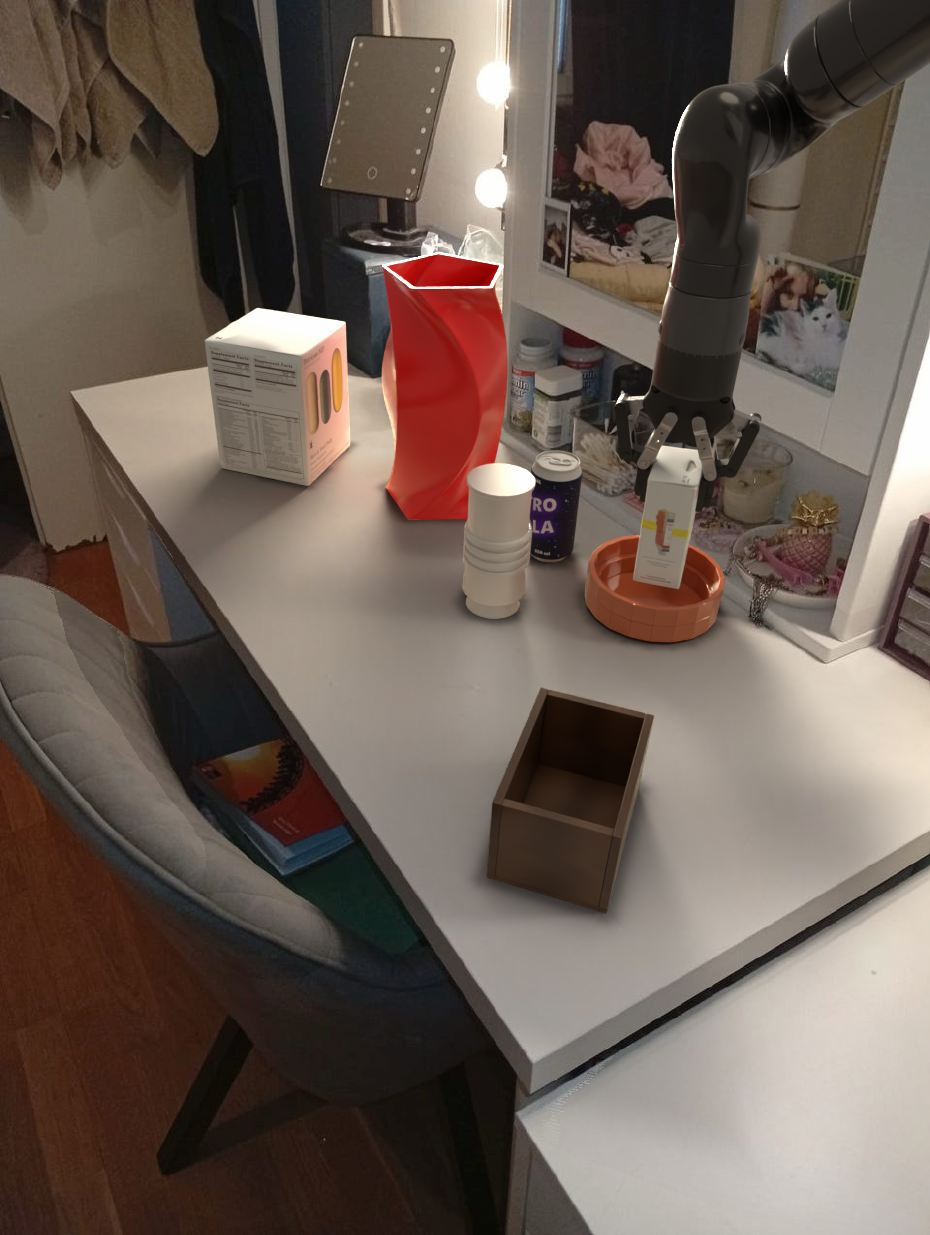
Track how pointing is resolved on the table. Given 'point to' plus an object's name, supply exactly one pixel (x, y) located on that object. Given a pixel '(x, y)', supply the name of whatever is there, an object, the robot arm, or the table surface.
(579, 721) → the holder
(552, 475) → the beverage can
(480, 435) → the vase
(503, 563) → the white ribbed cup
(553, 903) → the table surface
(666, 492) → the ink box
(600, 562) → the bowl
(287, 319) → the supplement box
